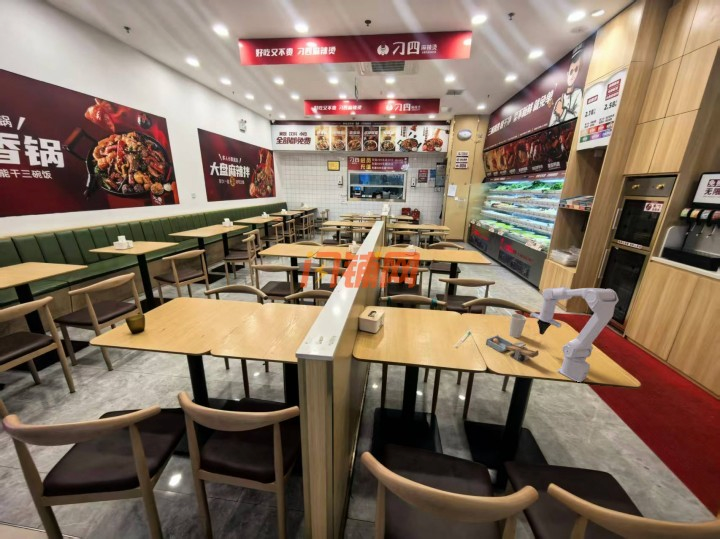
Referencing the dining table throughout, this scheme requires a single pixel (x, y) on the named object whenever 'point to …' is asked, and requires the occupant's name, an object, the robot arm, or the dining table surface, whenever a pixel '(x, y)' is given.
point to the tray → (500, 345)
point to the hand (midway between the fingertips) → (541, 333)
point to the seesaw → (522, 349)
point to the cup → (516, 325)
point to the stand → (519, 356)
